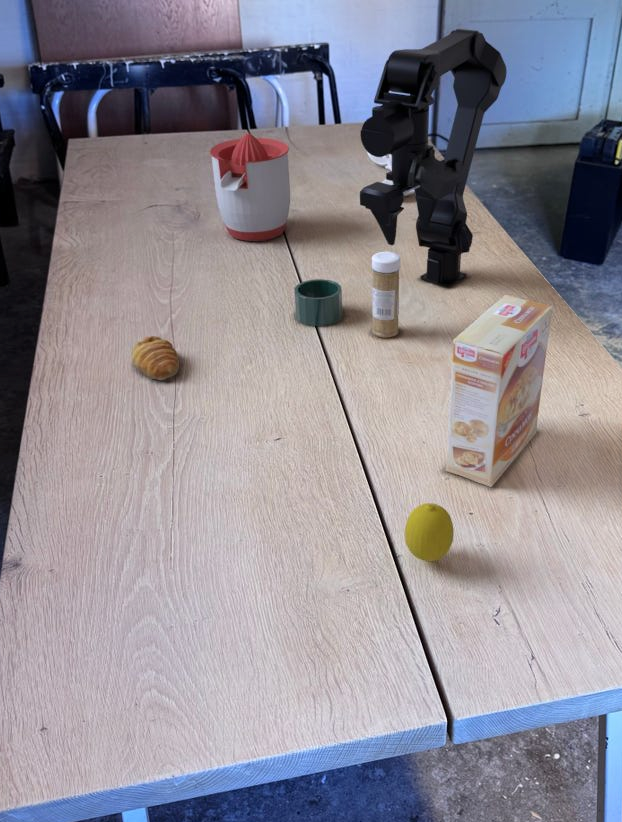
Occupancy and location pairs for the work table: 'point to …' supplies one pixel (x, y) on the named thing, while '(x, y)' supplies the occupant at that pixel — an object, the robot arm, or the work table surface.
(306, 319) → the cup
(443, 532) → the lemon
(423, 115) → the robot arm
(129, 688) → the work table surface
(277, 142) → the citrus juicer
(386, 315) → the sprinkles bottle
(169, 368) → the pastry
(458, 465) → the coffeecake box
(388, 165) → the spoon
